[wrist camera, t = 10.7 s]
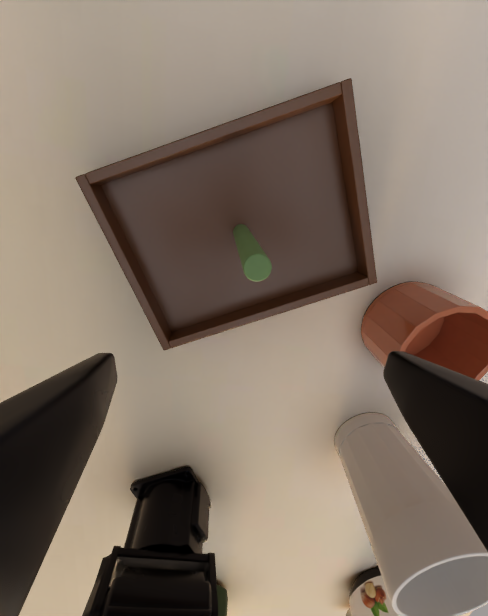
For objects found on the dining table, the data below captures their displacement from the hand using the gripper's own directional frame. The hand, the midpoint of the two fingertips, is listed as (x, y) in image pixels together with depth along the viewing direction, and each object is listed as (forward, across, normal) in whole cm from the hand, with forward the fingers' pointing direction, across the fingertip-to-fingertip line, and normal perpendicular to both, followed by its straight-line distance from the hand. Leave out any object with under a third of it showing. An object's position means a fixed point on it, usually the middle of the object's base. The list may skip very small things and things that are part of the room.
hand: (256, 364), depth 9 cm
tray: (+13, 0, -3) cm, 13 cm away
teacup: (+13, -14, +4) cm, 20 cm away
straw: (+12, 0, -3) cm, 12 cm away
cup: (+13, -14, +18) cm, 26 cm away
